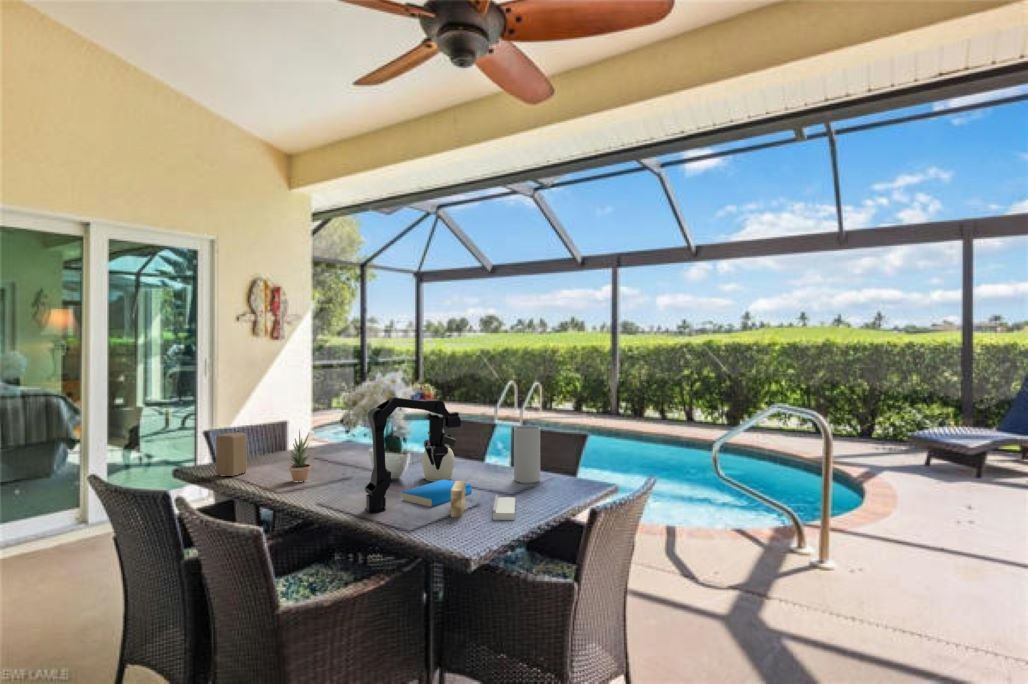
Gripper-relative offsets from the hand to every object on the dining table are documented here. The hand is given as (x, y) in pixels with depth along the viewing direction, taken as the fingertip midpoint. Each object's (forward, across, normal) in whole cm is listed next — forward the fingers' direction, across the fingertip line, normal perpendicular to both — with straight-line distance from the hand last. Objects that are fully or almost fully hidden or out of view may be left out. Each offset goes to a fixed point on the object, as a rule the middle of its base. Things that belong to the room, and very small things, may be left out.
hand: (435, 467), depth 228 cm
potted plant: (+15, +53, +52) cm, 76 cm away
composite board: (+13, -24, -22) cm, 35 cm away
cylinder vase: (+13, +16, -48) cm, 53 cm away
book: (+14, +5, -3) cm, 15 cm away
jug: (+14, +34, -10) cm, 38 cm away
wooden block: (+15, +78, +83) cm, 115 cm away
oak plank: (+14, -17, -5) cm, 23 cm away
